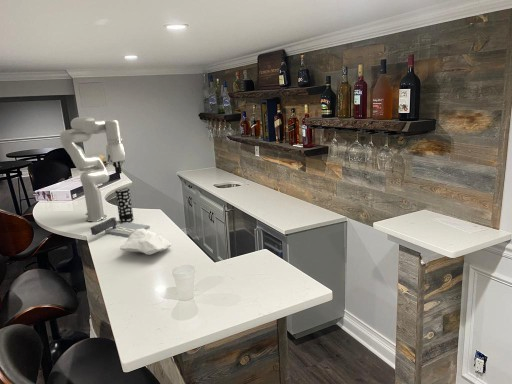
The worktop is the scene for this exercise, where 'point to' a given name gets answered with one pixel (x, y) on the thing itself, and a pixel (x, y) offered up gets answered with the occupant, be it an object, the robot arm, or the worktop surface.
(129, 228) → the label panel
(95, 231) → the swing arm
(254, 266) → the worktop surface
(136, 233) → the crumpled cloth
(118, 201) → the white-spotted black cylinder
